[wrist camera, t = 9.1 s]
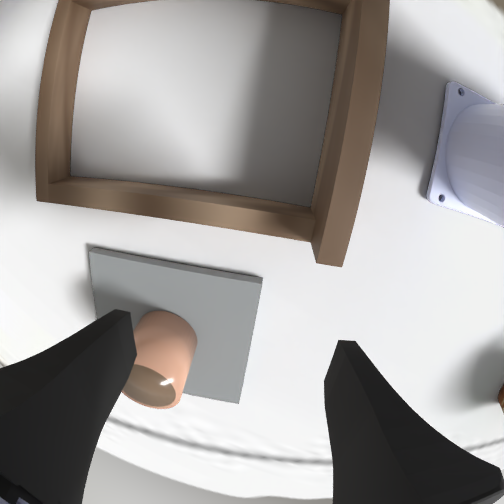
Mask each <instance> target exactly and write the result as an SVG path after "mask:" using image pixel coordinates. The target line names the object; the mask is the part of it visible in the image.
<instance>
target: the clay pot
mask: <svg viewBox="0 0 504 504" xmlns="http://www.w3.org/2000/svg"><path fill="white" fill-rule="evenodd" d="M133 333H134V339H135V345H136V350H137V357H136V359H135V362H134V365H133V368H132V370H131V373H130V376H129V378H128V380H127V382H126V384H125V386H124V388H123V390H122V391H121V392H122V393H123V394H124V395H126V396H127V397H128V398H130V399H131V400H133V401H135V402H137V403H139V404H141V405H144V406H147V407H151V408H156V409H167V408H171V407H173V406H175V405H177V404H178V403H179V401H180V398H181V395H182V392H183V389H184V386H185V382H186V379H187V376H188V373H189V370H190V366H191V363H192V360H193V357H194V354H195V351H196V348H197V342H198V341H197V336H196V333H195V331H194V330H193V328H192V327H191V326H190V325H189V323H188V322H186V321H185V320H184V319H182V318H181V317H179V316H177V315H175V314H173V313H170V312H166V311H152V312H149V313H146V314H145V315H144V316H142V318H141V319H140V320H139V322H138V324H137V325H136V327H135V329H134V331H133Z"/></svg>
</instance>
